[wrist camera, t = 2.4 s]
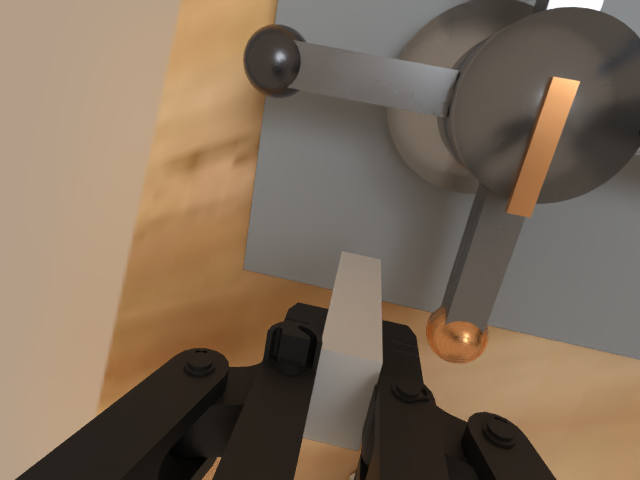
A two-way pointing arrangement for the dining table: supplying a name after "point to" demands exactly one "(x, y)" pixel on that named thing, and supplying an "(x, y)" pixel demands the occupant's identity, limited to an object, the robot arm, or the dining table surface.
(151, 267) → the dining table surface
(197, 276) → the dining table surface
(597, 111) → the capstan
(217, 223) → the dining table surface
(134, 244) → the dining table surface
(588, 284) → the stand
